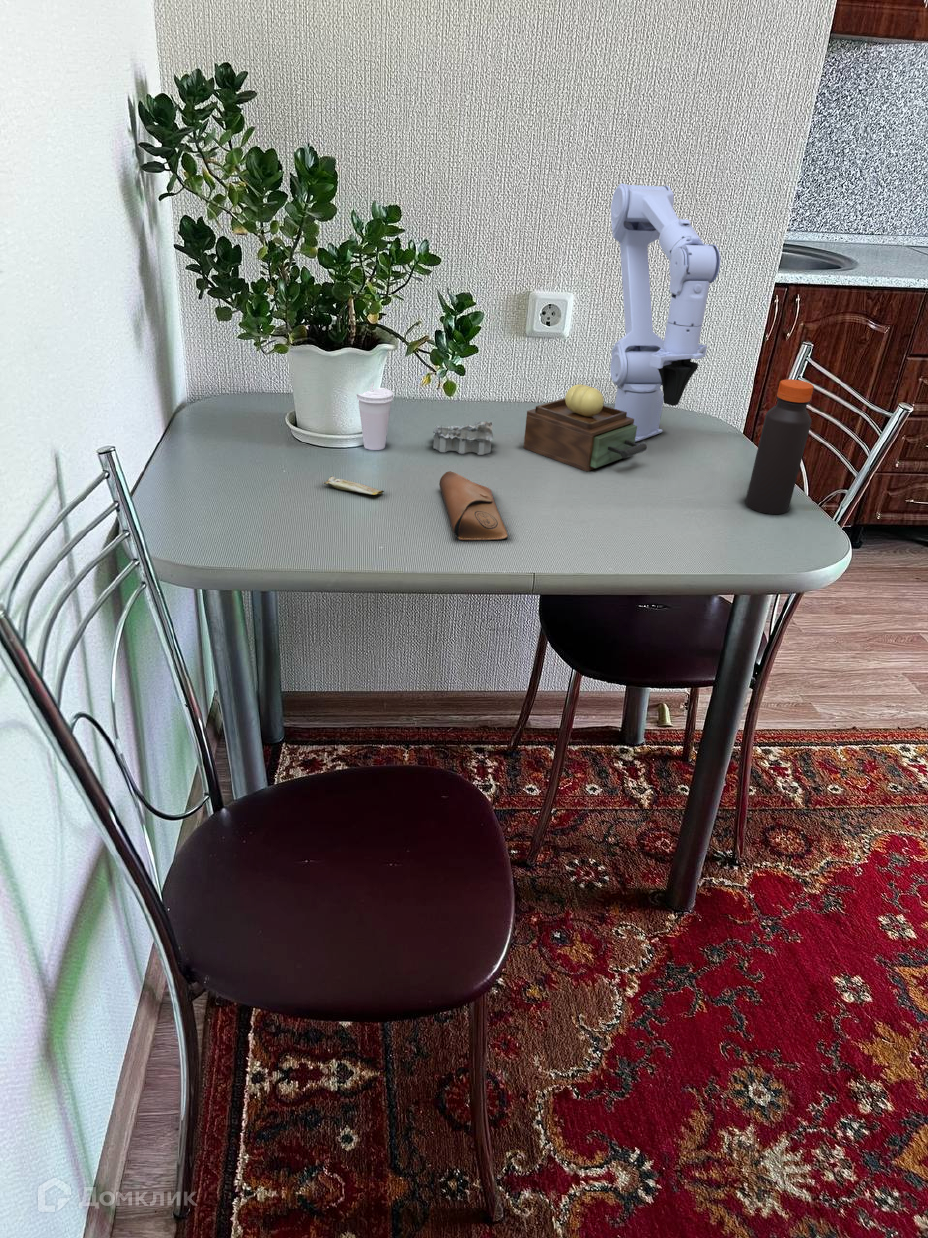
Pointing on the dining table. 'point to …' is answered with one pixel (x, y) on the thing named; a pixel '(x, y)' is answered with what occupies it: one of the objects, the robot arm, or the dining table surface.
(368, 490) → the snack bar
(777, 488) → the bottle
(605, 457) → the drawer
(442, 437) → the egg carton
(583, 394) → the pale yellow lobed ovoid
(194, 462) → the dining table surface
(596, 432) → the cabinet
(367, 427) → the smoothie
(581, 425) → the brown wooden tray
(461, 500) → the sunglasses case
